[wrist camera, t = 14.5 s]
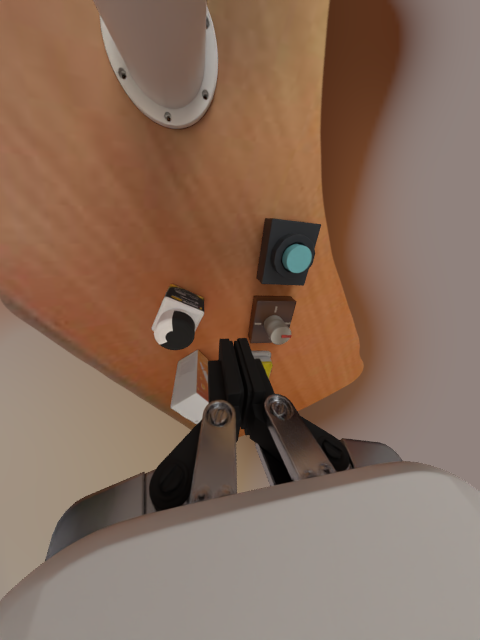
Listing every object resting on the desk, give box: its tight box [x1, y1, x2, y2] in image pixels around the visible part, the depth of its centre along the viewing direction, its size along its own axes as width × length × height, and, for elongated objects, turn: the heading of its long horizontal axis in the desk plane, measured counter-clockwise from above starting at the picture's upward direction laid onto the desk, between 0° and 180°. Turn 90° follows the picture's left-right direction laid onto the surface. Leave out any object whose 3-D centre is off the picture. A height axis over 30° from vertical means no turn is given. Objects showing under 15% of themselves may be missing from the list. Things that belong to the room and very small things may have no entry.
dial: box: [264, 315, 291, 345], centre depth 38 cm, size 4×4×5 cm
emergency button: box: [252, 351, 272, 379], centre depth 49 cm, size 9×4×15 cm
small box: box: [171, 350, 209, 424], centre depth 41 cm, size 8×6×13 cm
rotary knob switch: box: [248, 296, 296, 343], centre depth 42 cm, size 11×9×3 cm
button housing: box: [257, 218, 321, 285], centre depth 33 cm, size 11×9×6 cm
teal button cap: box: [282, 244, 312, 273], centre depth 30 cm, size 4×4×2 cm
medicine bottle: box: [152, 284, 204, 350], centre depth 32 cm, size 7×7×12 cm
